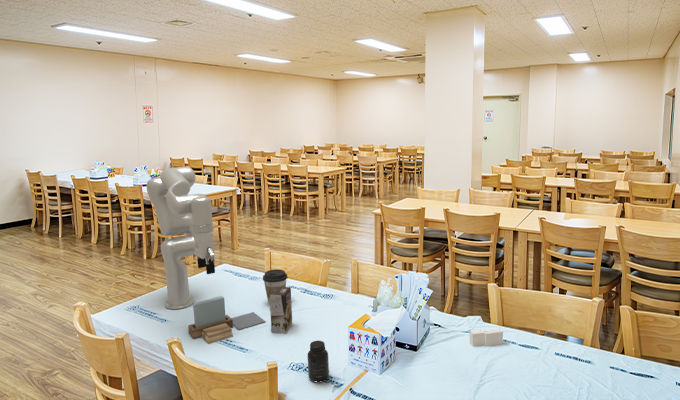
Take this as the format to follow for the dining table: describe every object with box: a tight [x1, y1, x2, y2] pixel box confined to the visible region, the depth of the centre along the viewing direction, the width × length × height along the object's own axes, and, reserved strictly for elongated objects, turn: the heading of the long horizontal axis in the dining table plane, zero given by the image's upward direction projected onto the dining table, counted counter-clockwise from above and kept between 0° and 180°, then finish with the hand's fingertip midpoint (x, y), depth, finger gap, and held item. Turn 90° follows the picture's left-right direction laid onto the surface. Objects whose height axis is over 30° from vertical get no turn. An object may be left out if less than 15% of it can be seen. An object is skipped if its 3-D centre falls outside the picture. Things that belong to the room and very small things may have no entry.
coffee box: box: [269, 286, 293, 334], centre depth 190 cm, size 9×6×16 cm
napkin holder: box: [469, 328, 504, 347], centre depth 174 cm, size 15×11×6 cm
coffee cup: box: [262, 268, 288, 306], centre depth 215 cm, size 11×11×15 cm
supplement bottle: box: [307, 340, 330, 383], centre depth 154 cm, size 7×7×12 cm
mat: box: [230, 311, 267, 331], centre depth 198 cm, size 12×12×1 cm
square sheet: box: [192, 295, 227, 329], centre depth 190 cm, size 2×12×13 cm, turn 125°
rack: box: [187, 314, 234, 340], centre depth 190 cm, size 6×16×4 cm, turn 125°
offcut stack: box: [201, 323, 234, 345], centre depth 185 cm, size 7×10×4 cm
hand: (206, 270), depth 186 cm, fingers open, 9 cm apart
